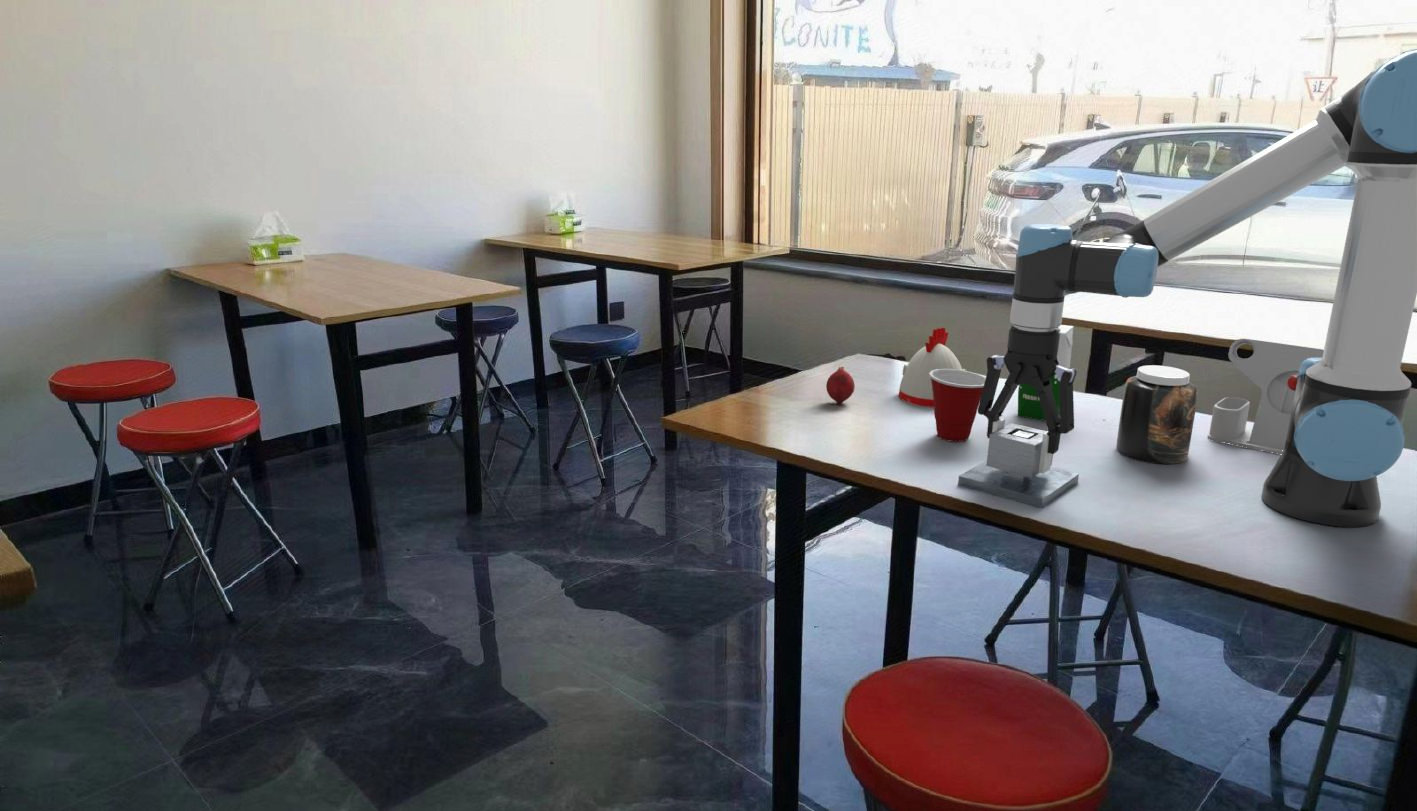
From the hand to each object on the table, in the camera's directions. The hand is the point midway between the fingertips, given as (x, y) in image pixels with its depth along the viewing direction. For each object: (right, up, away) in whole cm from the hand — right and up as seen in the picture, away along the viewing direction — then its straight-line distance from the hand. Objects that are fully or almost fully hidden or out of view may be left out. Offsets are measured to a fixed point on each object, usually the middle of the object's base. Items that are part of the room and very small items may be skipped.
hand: (1019, 464), depth 149 cm
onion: (-23, +10, +43) cm, 50 cm away
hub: (0, 0, 0) cm, 0 cm away
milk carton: (+16, +8, +36) cm, 40 cm away
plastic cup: (-4, +4, +23) cm, 24 cm away
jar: (+29, +1, +15) cm, 32 cm away
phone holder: (+51, +2, +20) cm, 55 cm away
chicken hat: (-3, +11, +48) cm, 49 cm away
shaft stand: (0, -3, +1) cm, 3 cm away
